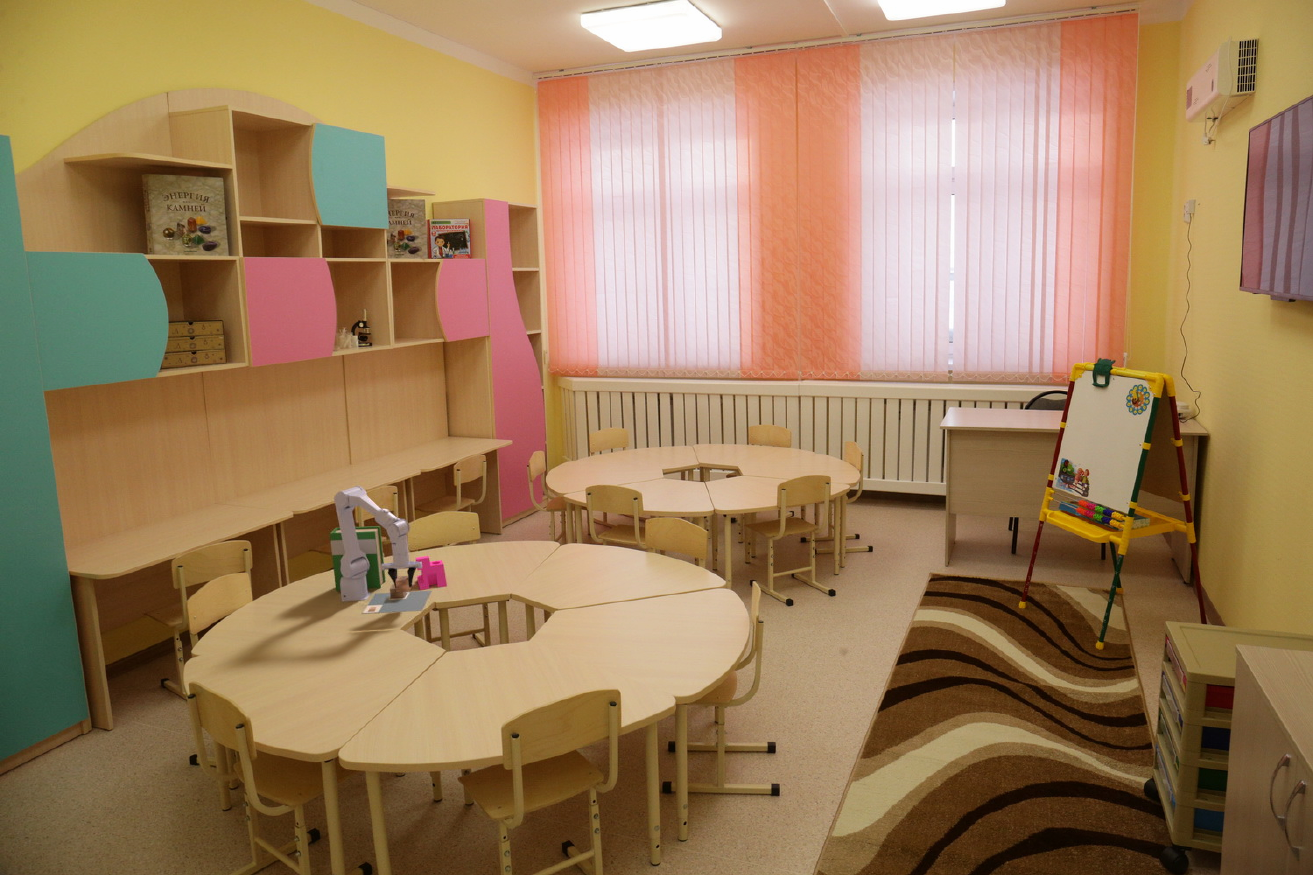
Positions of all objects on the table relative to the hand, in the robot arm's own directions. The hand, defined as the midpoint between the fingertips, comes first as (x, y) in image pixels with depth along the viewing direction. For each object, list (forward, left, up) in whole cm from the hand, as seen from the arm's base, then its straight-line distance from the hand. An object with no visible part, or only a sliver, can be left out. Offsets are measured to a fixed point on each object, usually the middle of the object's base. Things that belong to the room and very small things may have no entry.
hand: (403, 586), depth 333 cm
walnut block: (-5, +11, -8) cm, 14 cm away
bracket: (+6, +23, -9) cm, 25 cm away
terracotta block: (0, 0, -1) cm, 1 cm away
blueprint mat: (-4, +5, -8) cm, 10 cm away
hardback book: (-23, +25, -8) cm, 35 cm away
